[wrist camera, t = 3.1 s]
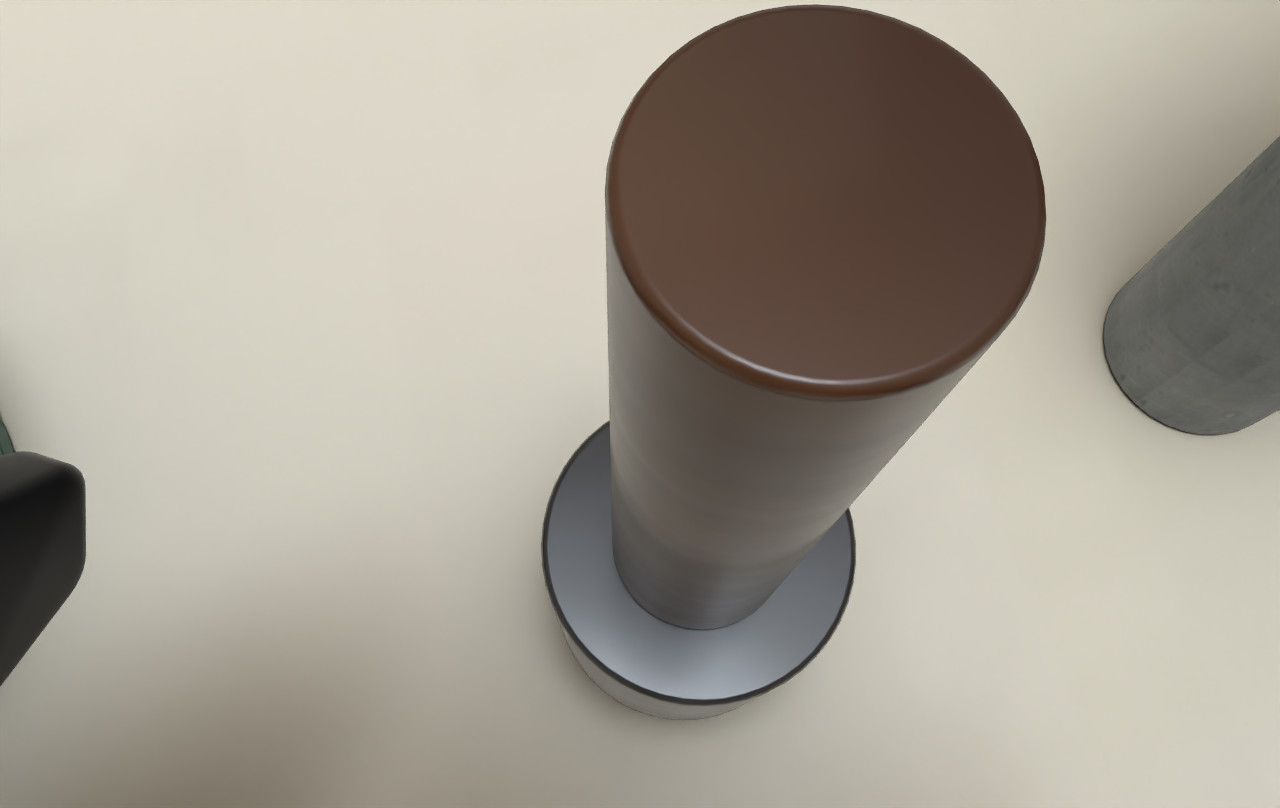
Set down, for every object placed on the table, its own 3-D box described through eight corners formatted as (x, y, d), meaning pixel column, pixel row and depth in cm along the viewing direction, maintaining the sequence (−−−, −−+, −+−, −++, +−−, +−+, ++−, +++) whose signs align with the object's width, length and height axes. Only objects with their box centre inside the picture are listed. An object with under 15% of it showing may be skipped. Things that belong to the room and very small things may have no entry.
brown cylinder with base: (685, 776, 17) (873, 794, 5) (505, 592, 18) (248, 183, 5) (857, 589, 18) (1395, 184, 6) (677, 422, 19) (797, -256, 6)
